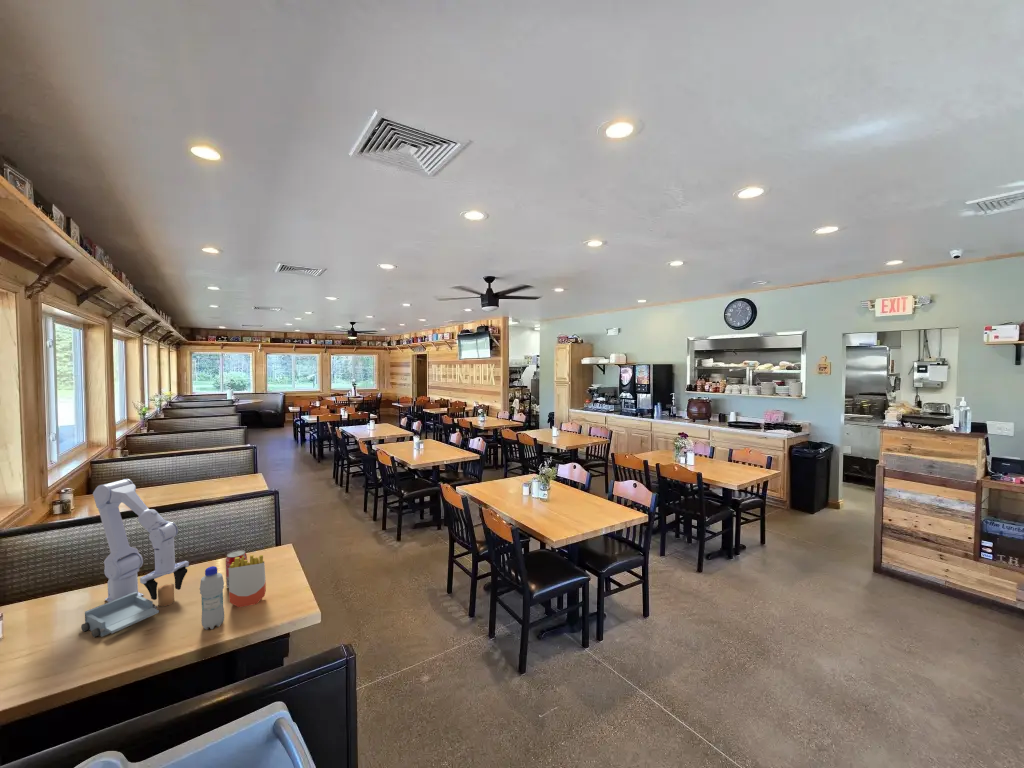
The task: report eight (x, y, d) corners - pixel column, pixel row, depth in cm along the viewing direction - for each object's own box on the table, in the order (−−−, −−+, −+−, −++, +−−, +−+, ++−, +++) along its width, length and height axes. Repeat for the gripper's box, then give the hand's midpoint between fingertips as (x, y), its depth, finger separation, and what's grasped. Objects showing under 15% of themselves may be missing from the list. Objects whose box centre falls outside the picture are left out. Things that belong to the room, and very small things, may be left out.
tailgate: (105, 627, 139) (111, 631, 137) (152, 607, 151) (158, 610, 149) (105, 630, 139) (111, 634, 138) (152, 610, 151) (158, 613, 149)
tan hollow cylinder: (155, 604, 158) (154, 586, 158) (170, 598, 162) (169, 580, 162) (162, 607, 156) (162, 589, 156) (177, 601, 160) (176, 583, 160)
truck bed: (80, 629, 143) (79, 613, 142) (140, 604, 158) (140, 589, 157) (99, 640, 137) (98, 623, 137) (159, 613, 152) (159, 597, 152)
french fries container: (232, 602, 159) (230, 554, 158) (266, 596, 163) (264, 549, 163) (229, 609, 155) (228, 559, 154) (264, 602, 159) (263, 554, 158)
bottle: (199, 634, 141) (197, 573, 140) (202, 623, 147) (200, 565, 146) (224, 628, 144) (222, 569, 143) (226, 617, 150) (224, 560, 149)
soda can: (237, 591, 167) (236, 558, 167) (221, 589, 169) (220, 556, 168) (252, 582, 174) (251, 550, 174) (236, 580, 176) (235, 548, 175)
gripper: (147, 568, 150) (148, 606, 151) (192, 551, 163) (194, 586, 164) (136, 564, 153) (137, 601, 154) (182, 548, 166) (183, 583, 167)
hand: (166, 593), depth 159 cm, fingers open, 7 cm apart
